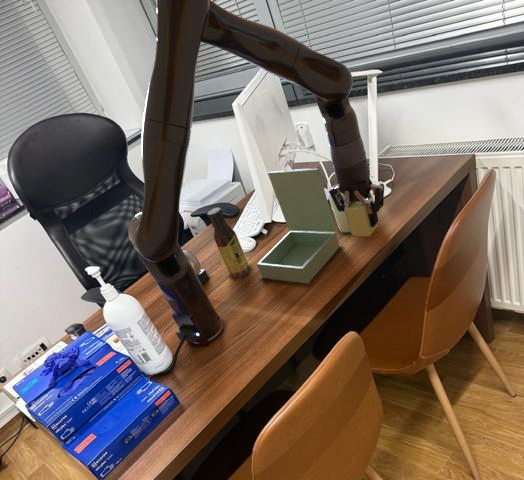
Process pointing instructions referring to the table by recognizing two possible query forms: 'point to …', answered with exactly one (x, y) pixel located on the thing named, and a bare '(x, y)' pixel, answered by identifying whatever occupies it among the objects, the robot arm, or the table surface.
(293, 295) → the table surface
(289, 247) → the box
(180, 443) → the table surface
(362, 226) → the block
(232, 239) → the sauce bottle
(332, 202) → the coffee cup
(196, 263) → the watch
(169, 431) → the table surface
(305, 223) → the lid
